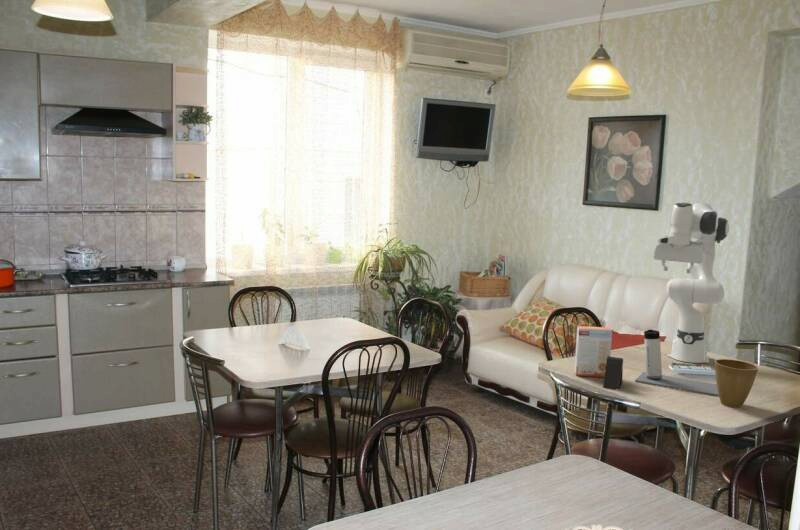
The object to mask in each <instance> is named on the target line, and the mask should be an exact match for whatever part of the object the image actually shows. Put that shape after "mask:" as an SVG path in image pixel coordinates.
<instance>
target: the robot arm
mask: <svg viewBox="0 0 800 530" xmlns="http://www.w3.org/2000/svg"><path fill="white" fill-rule="evenodd" d="M729 232H730V225H729V221H728V220H727V218H723V217H718V212H716V211H715V210H714V209H713V207H712V205H711V204H709V203H708V202H704V201H703V202H702V201H700V202H696V203H694V204H692V203H690V202H677V203H675V204H673V208H672V213H671V217H670V231H669V235H668V236H667V235H665V236H663V237H659V238H658V239H657V242H658V243H657V244H656V245H655V248H654V251H653V259H654V260H656V261H661V264H662V266H663V272H668V270H669V266H667V265H666V262H678V263H688V264H687V269H686V274H690V275H691V277H693V278H686V277H685V278H684V277H675V278H671V279H670V280H669V281H668V282H667V284H666V286H665V292H666V295H667V297H668V298H669V299H671V301H673V303H674V304H675V305H676V308H677V310H678V328H677V330H676V331H677V332H676V338H675V339H673V341H672V345H671V346H672V348H671V352H670V353H668V354H667V357H668V358H671V359H674V360H675V361H680V362H684V363H685V362H686V363H692V364H702V363H705V364H706V363H707V364H709V363H710V358H709V356H708V354H707V351H706V350H707V349H706V348H707V344H706V343H705V341H704V340H705V331H704V329H705V315H704V314H703V313H702V312H701V311H700V310H698V309H696V308H695V307H694V306H693V303H697V304H704V305H713V304H714V305H716V304H719V303H720V302H722V301H723V299H724V298H725V289H724V286H723V285H722V284H721V283H720V282H718V281H717V279H716V278H715V276H714V274H713V269H714V262H715V258H716V243H717V244H720V243H721V241H723V240H725V239H726V238H727V237H728V235H729ZM692 239H696V241H692Z"/></svg>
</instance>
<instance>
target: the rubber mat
mask: <svg viewBox="0 0 800 530" xmlns="http://www.w3.org/2000/svg"><path fill="white" fill-rule="evenodd" d="M646 374H647V373H646V371H643V372H642V373H641V374H640V375H639V376H638V377H636V379H635V382H636V383H639V382H641V383H640V384H645V383H646V385H650V384H652V385H651V386H656V385H658V386H657V387H662V386H663V387H662V388H667V387H669V388H668V389H673V388H676V389H675V390H678V389H681V390H680V391H684V390H686V391H685V392H690V391H691V392H690V393H696V394H702V395H707V396H712V397H719V393H718V389H717V383H711V382H705V381H699V380H695V379H694V380H693V379H687V378H682V377H676V376H675V377H674V376H669V375H664V374H662V378H658V379H651V378H647V377H646Z"/></svg>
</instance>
